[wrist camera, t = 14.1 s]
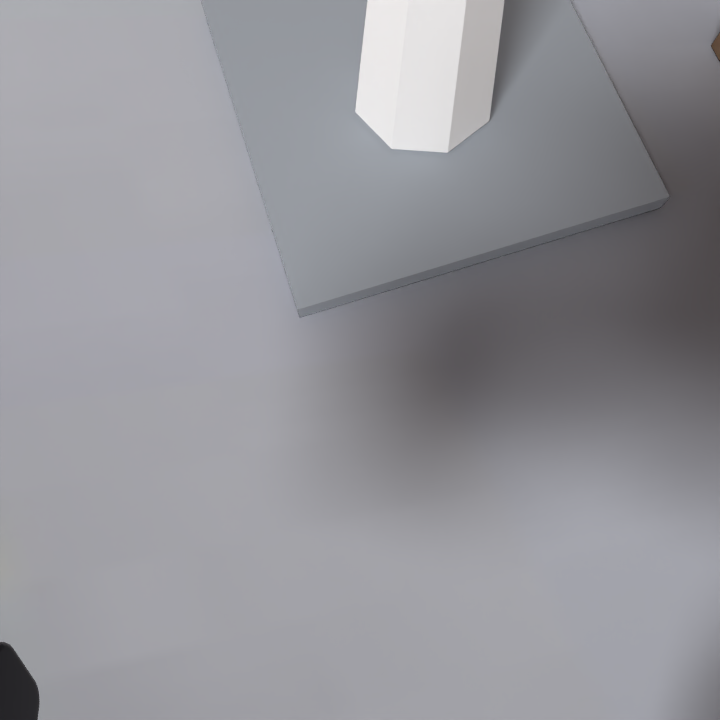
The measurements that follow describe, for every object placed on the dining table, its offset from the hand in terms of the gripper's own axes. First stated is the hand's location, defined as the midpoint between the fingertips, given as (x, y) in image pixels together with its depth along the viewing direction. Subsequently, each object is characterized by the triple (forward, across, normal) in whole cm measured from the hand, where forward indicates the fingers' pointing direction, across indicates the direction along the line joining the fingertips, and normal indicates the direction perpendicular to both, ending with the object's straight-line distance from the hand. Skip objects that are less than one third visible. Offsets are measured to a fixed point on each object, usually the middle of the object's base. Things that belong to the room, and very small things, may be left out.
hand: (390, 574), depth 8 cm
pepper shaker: (+20, -6, -2) cm, 21 cm away
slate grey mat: (+21, -6, -2) cm, 22 cm away
